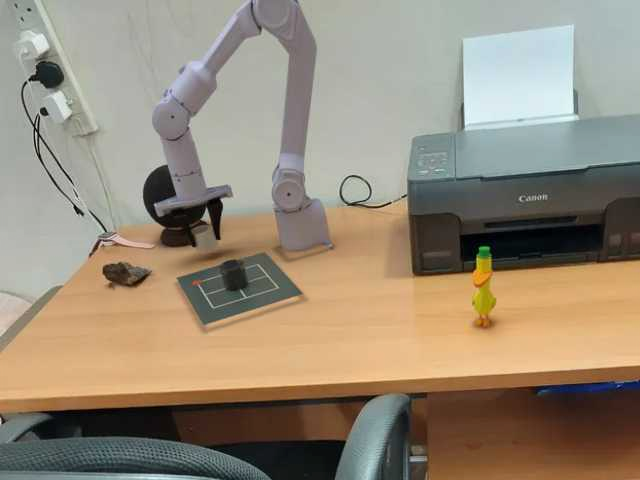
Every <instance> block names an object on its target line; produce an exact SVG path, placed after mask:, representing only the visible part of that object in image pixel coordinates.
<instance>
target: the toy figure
mask: <svg viewBox="0 0 640 480" xmlns="http://www.w3.org/2000/svg"><path fill="white" fill-rule="evenodd" d="M490 251H491V248H490V246H480V247H478V253H477V254H476V269H474V270H473V272H472V276H471V279H472V284H473V286H474V287H475V288H476V289H478V291H477V292H476V293H475V295H473V296H472V297H471V306H473V307H474V310H475V311H476V313H478V315H479V318H478V319H476V327H477V328H480V327H481V326H483V327H482V328H488V327H489V325H490V319H489V315H490V314H491V312H492V311H493V309H494V308H495V307H496V304H497V297H496V296H494V294H493V293H492V291H491V290H490V287H491V280H492V276H493V272H494V270H493V269H492V253H490ZM483 316H485V319H484V318H483Z"/></svg>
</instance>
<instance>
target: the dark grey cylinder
mask: <svg viewBox="0 0 640 480" xmlns="http://www.w3.org/2000/svg"><path fill="white" fill-rule="evenodd" d="M239 259H240V258H239ZM239 259H238V258H235V259H228V260H225V261H223V262H222V263H221V264H219V265H220V266H219V268H220V272H221V276H222V280H223V283H224V287H225V289H226V290H229V291H236V290H240V289H243V288H245V287H246V286H247V285H248V284H249V282H248V278H247V274H246V270H245V266H244V262H243V261H242V260H239Z"/></svg>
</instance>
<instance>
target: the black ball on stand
mask: <svg viewBox="0 0 640 480" xmlns="http://www.w3.org/2000/svg"><path fill="white" fill-rule="evenodd" d="M174 196H177V195H176V191H175V188H174V185H173V181H172V178H171V174H170V171H169V168H168V164H167V163H166V164H163V165H160V166H159V167H156V168H155V169H154V170H153V171H151V172H150V173H149V175H148V177H146V178H145V182H144V184H143V189H142V201H143V205H144V207H145V210H146V211H147V214H149V216H150V218H151V219H152V220H153V221H154V222H155V223H157V224H158V225H159V226H161V227H163V229H162V231H161V234H160V237H159V238H160V239H159V240H160V243H161V244H162V245H164V246H166V247H173V248H174V247H175V248H176V247H178V248H179V247H185V246H189V245H190V246H191V244H190V242H189V239H188V237H187V235H186V234H185V232H184V230H183V229H182V227H181V226H180V225H179V224H178V223H177V221H176V220H175V219H174V218H173V216H172V215H171V213H167V214H164V216H161V217H159V216H158V215H157V212H156V209H155V206H154V204H155V203H159V202H162V201H164V200H167V199H169V198H172V197H174ZM183 210H184V211H185V213H186V215H187V216H188V221H189V225H190V229H191V230H192V229H194V228H196V227H198V226H202V225H210V224H209V223H208V222H207V221H205V220H202V219H203V217H204V216H205V213H206V211H207V207H206V204H205V203H204V204H200V205H196V206H193V207H189V208H185V209H183Z"/></svg>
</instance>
